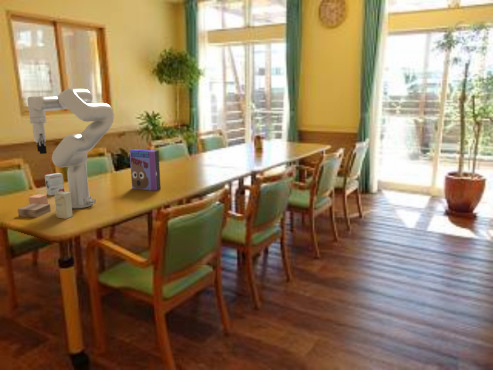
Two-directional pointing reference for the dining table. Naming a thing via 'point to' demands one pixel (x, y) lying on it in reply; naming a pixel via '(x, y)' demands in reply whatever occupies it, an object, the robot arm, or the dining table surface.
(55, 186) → the ink box
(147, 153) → the cereal box
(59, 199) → the skincare box
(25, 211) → the walnut block
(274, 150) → the dining table surface
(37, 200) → the terracotta cube
